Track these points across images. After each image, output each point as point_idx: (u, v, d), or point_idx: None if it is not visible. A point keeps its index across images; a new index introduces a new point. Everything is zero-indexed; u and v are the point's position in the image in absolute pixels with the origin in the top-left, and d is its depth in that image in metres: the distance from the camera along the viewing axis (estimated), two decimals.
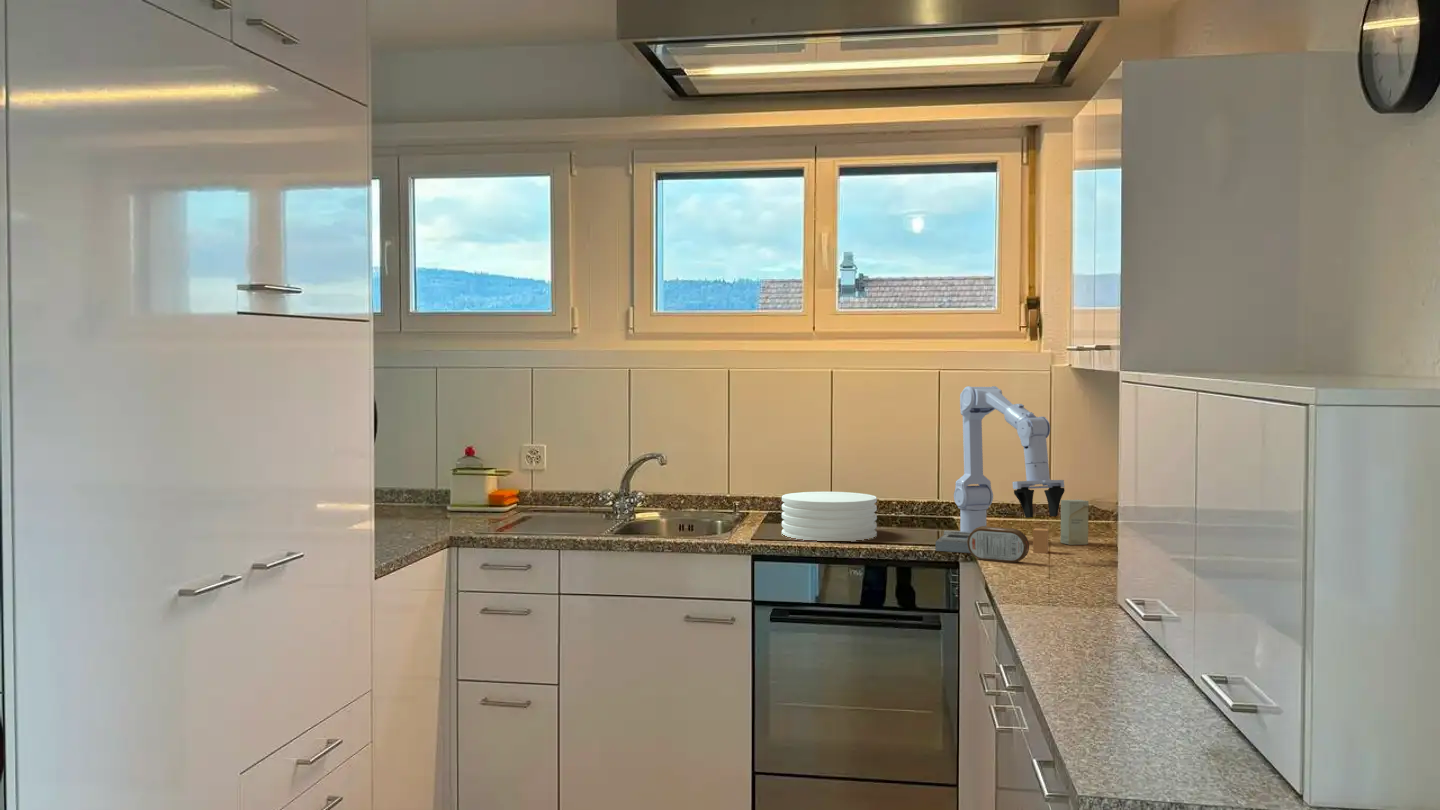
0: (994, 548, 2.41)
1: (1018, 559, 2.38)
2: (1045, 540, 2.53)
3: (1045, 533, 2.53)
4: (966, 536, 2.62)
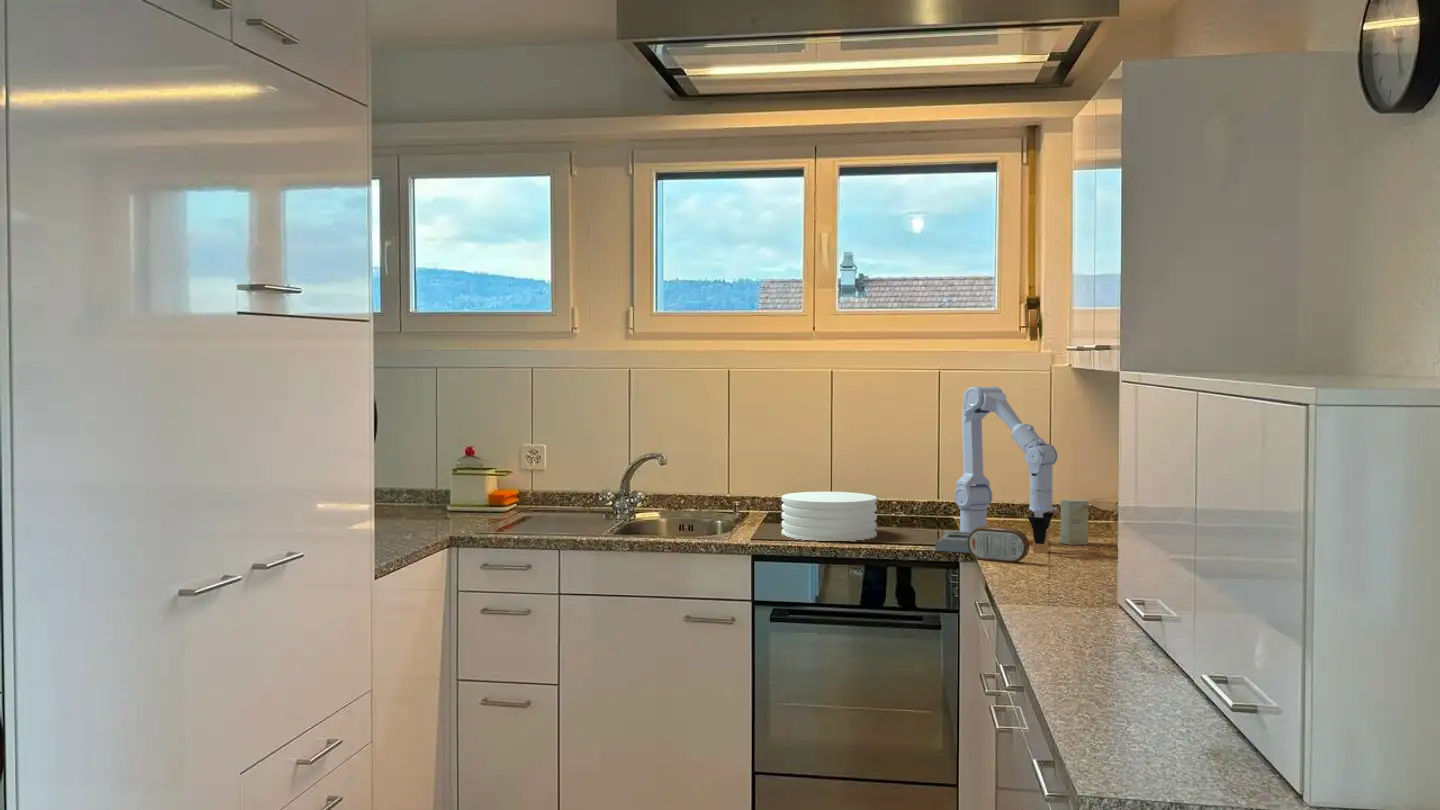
0: (994, 548, 2.41)
1: (1018, 559, 2.38)
2: (1045, 540, 2.53)
3: None
4: (966, 536, 2.62)
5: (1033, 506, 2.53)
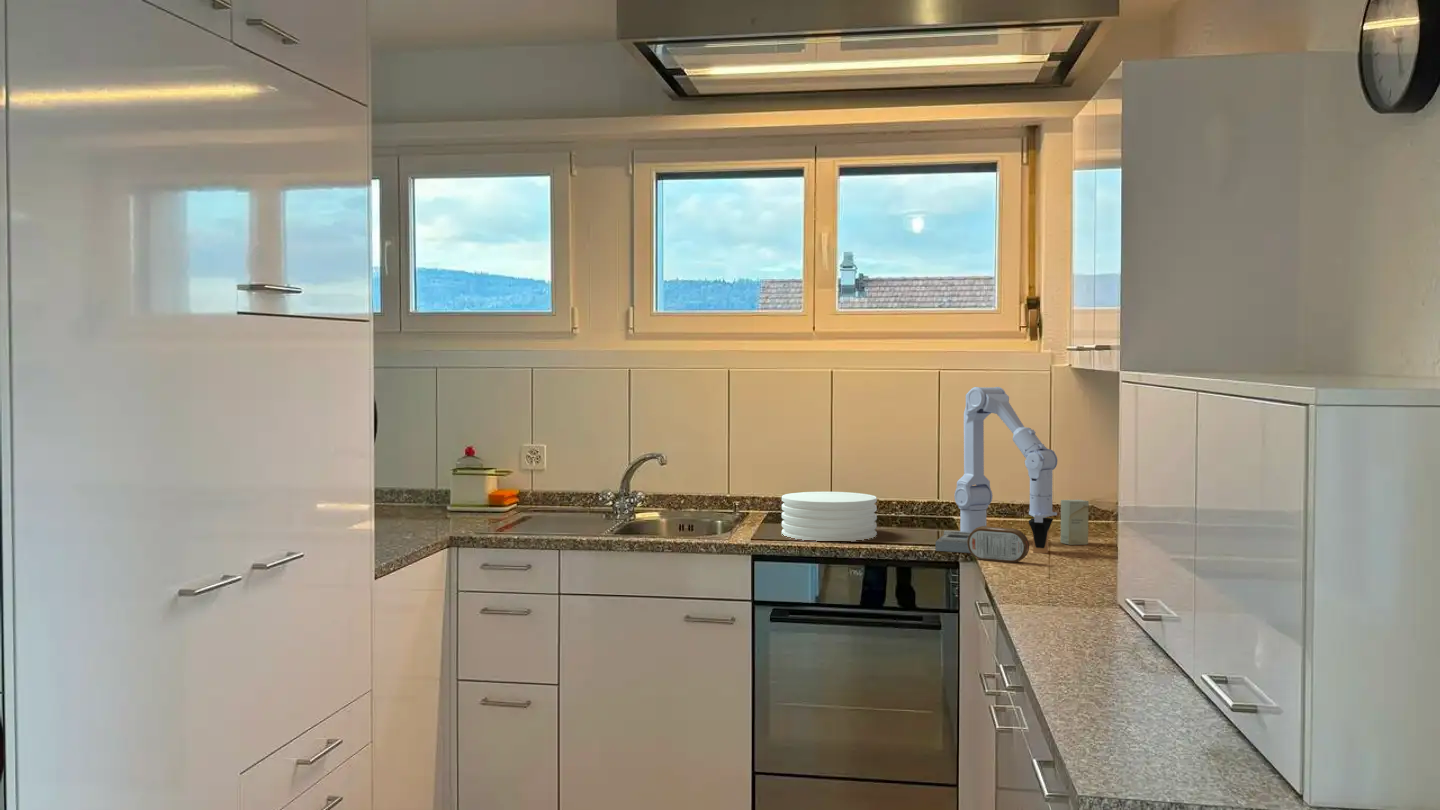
0: (994, 548, 2.41)
1: (1018, 559, 2.38)
2: None
3: None
4: (966, 536, 2.62)
5: (1033, 511, 2.53)
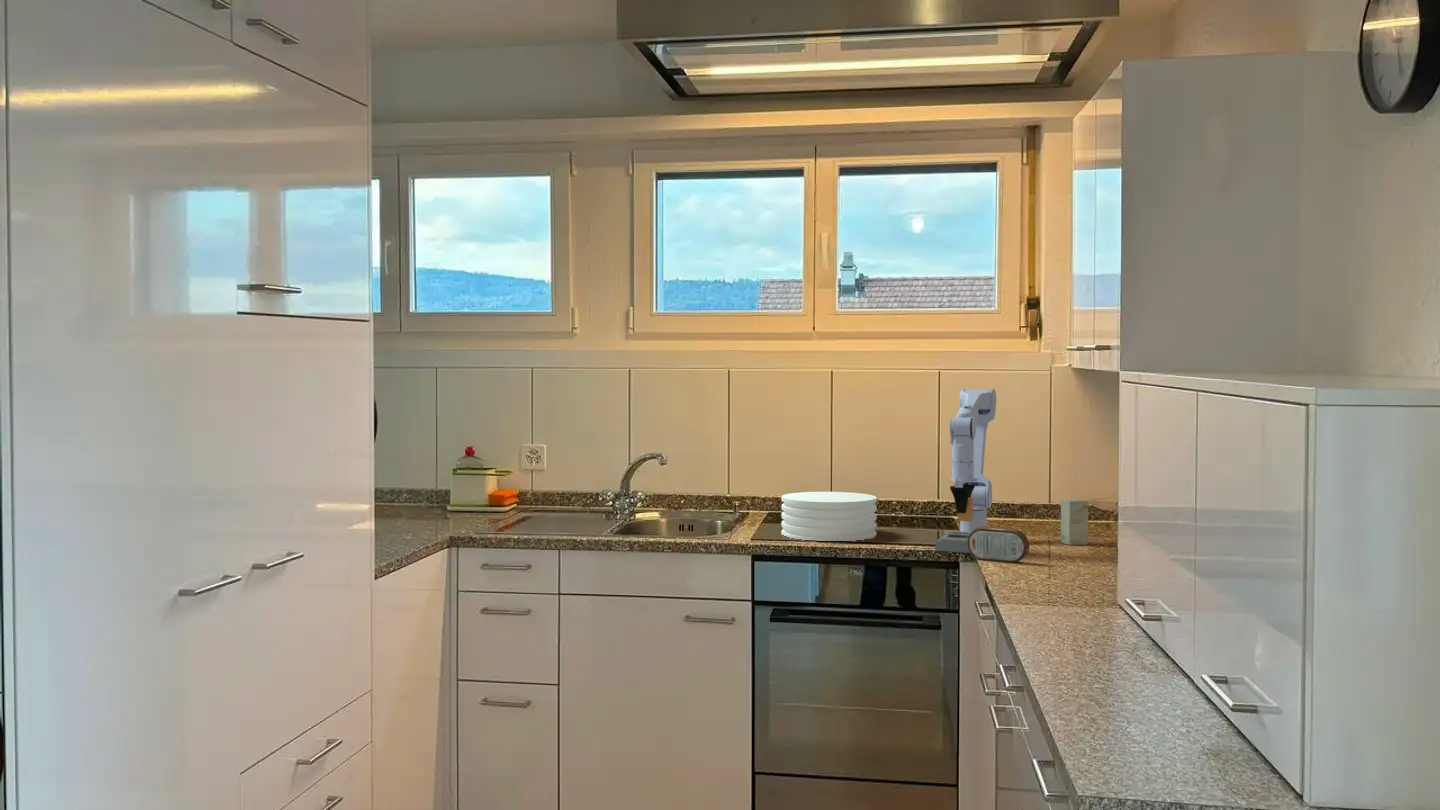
0: (994, 548, 2.41)
1: (1018, 559, 2.38)
2: (970, 509, 2.57)
3: (970, 502, 2.57)
4: (966, 536, 2.62)
5: (954, 477, 2.58)
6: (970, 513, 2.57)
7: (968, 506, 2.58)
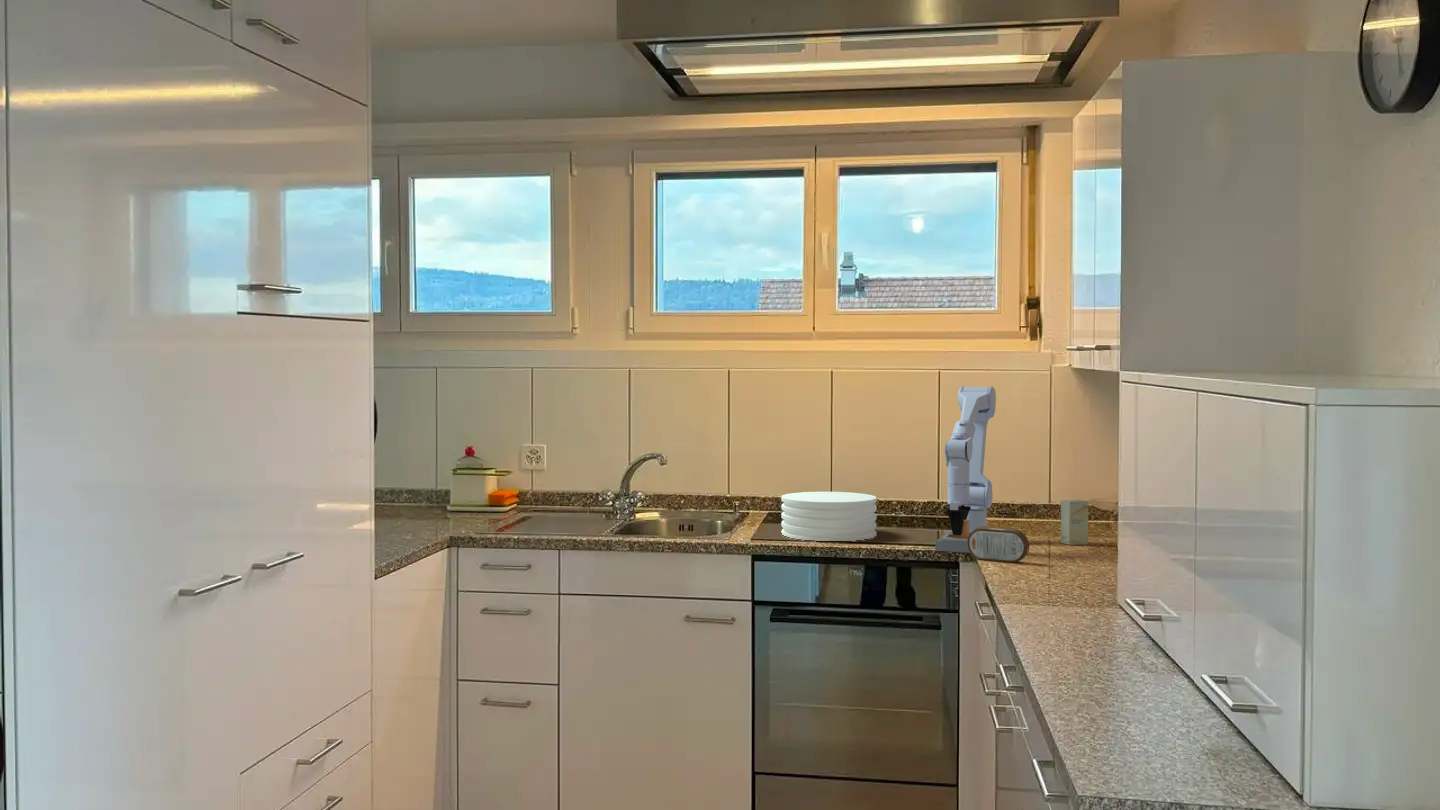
0: (994, 548, 2.41)
1: (1018, 559, 2.38)
2: (965, 531, 2.58)
3: (965, 524, 2.58)
4: None
5: (950, 499, 2.59)
6: (966, 535, 2.58)
7: (964, 528, 2.58)
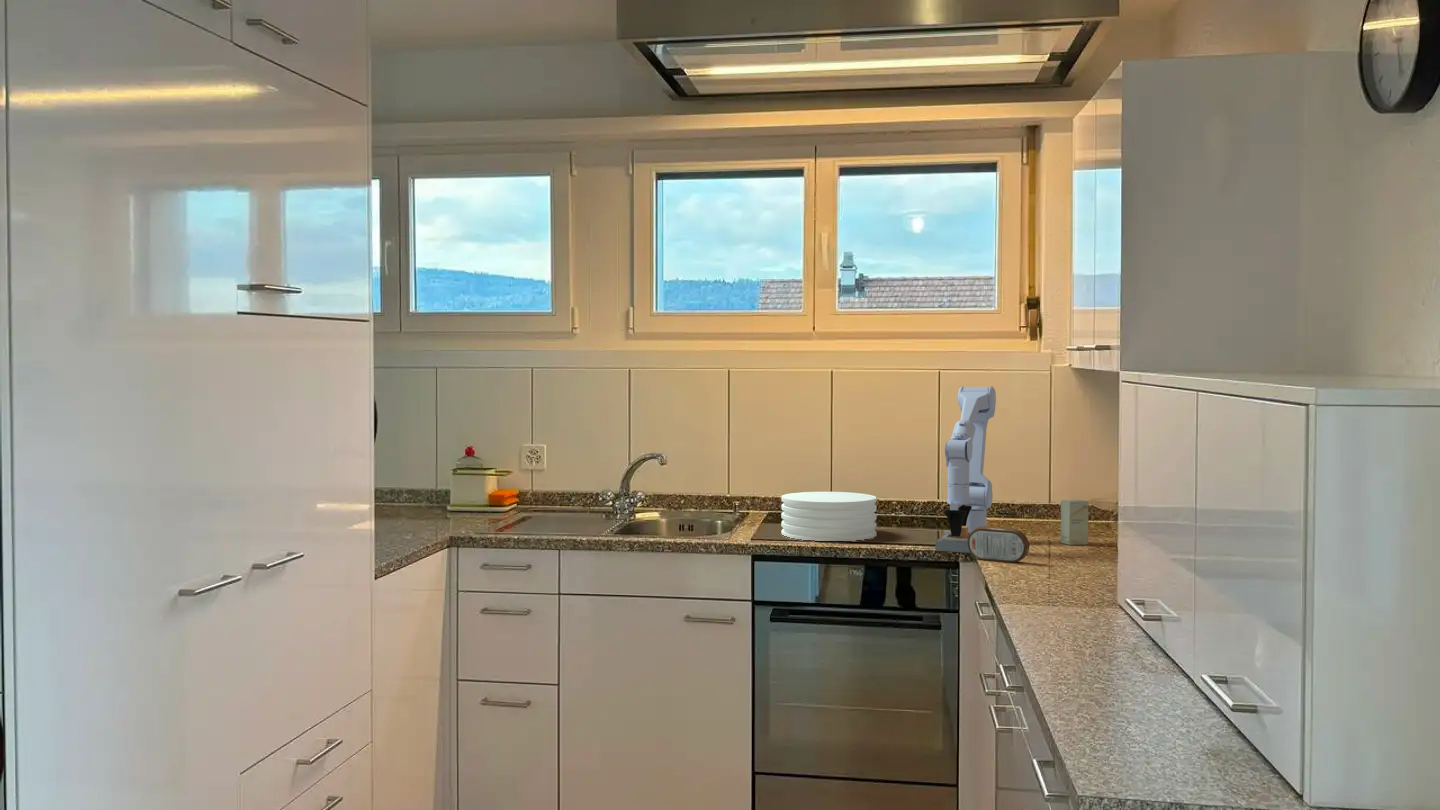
0: (994, 548, 2.41)
1: (1018, 559, 2.38)
2: (964, 537, 2.58)
3: (964, 530, 2.58)
4: None
5: (950, 499, 2.59)
6: None
7: (963, 535, 2.58)
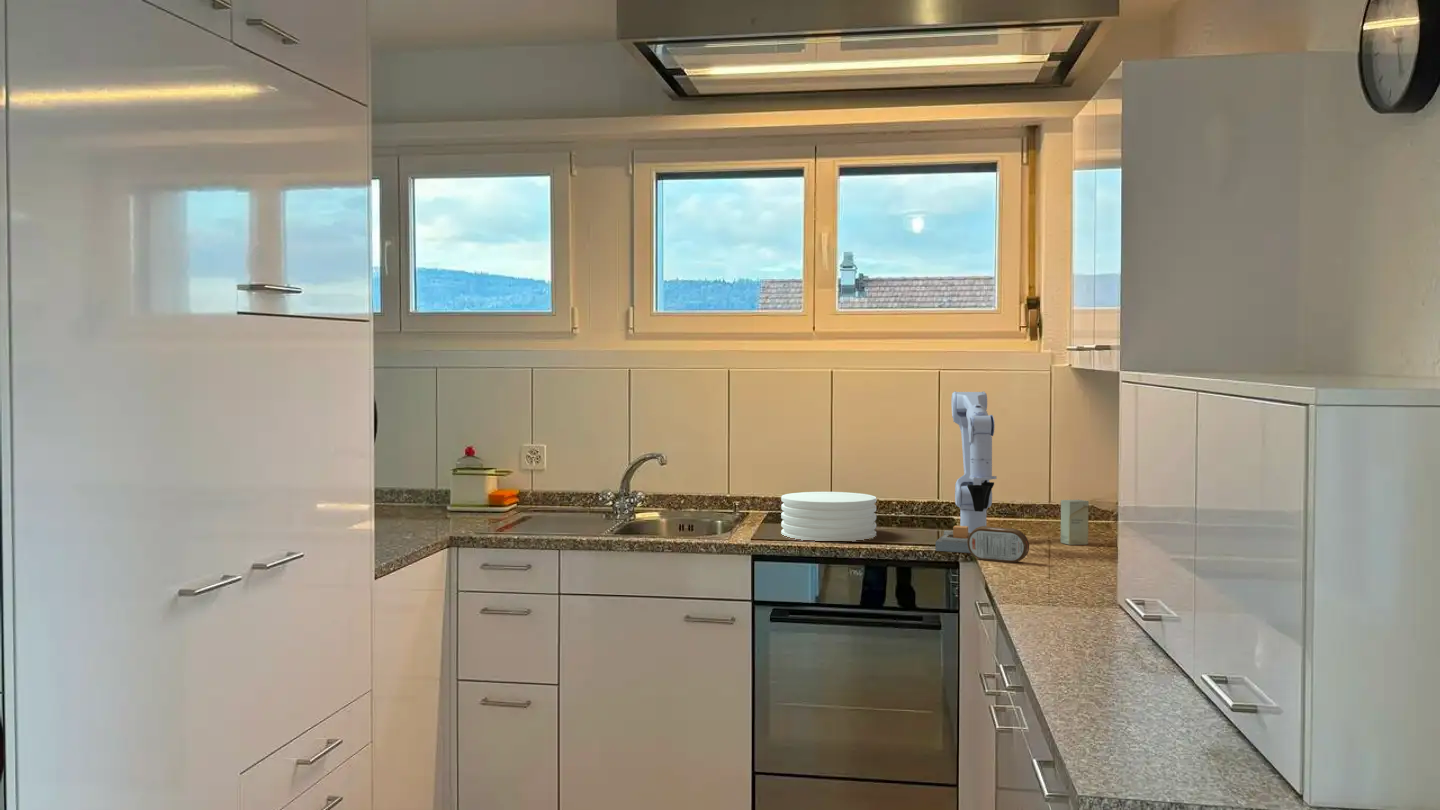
0: (994, 548, 2.41)
1: (1018, 559, 2.38)
2: (964, 537, 2.58)
3: (964, 530, 2.58)
4: None
5: (973, 475, 2.59)
6: None
7: (963, 535, 2.58)
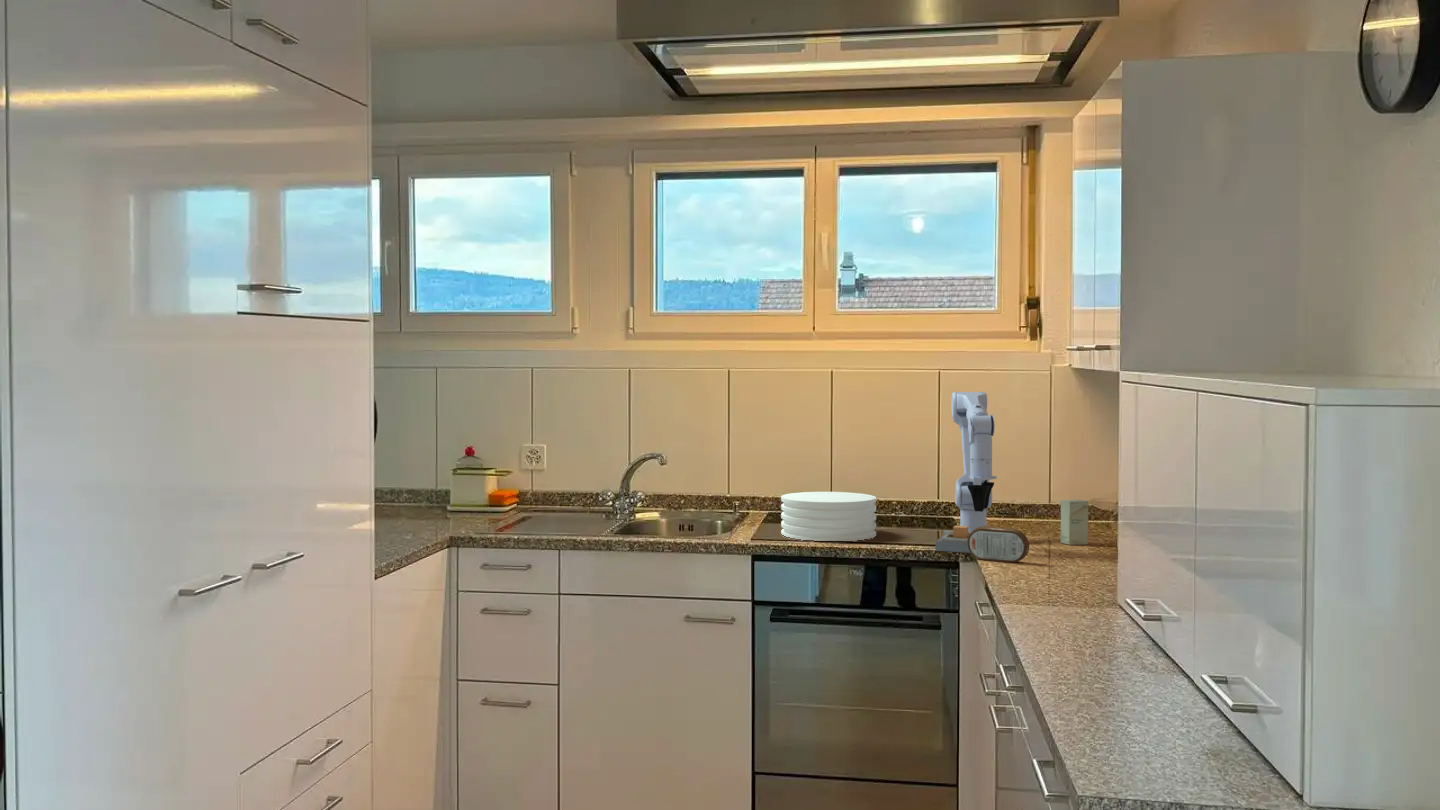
0: (994, 548, 2.41)
1: (1018, 559, 2.38)
2: (964, 537, 2.58)
3: (964, 530, 2.58)
4: None
5: (973, 475, 2.59)
6: None
7: (963, 535, 2.58)
